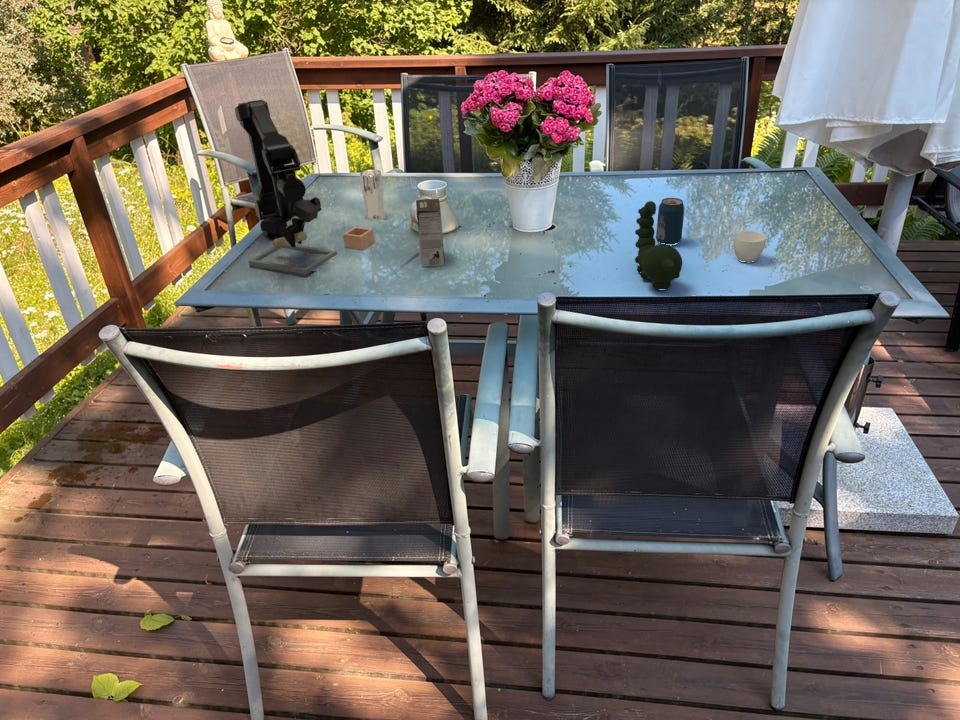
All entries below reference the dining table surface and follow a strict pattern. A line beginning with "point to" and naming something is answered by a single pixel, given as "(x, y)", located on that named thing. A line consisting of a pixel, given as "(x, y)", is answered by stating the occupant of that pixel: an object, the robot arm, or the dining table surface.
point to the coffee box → (430, 232)
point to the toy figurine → (655, 252)
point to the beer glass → (373, 193)
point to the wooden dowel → (282, 241)
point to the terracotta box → (358, 238)
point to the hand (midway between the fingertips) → (296, 245)
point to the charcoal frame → (290, 270)
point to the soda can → (670, 221)
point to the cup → (749, 245)
